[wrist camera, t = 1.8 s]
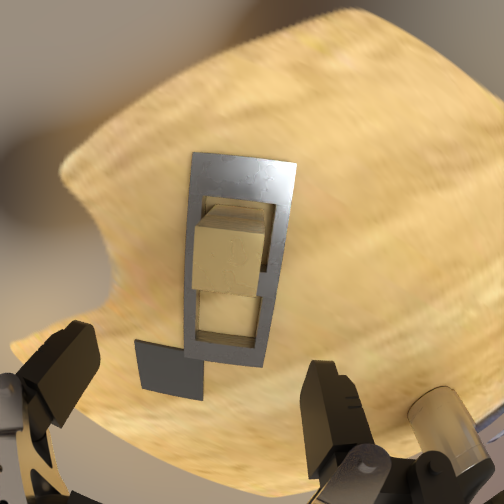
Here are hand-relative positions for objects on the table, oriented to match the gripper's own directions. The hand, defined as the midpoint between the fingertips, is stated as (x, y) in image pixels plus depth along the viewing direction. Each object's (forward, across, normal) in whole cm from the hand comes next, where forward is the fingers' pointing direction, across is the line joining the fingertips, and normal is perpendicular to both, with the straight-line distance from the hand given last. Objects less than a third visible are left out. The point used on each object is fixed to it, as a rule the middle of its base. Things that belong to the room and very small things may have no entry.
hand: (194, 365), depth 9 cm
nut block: (+19, 0, 0) cm, 19 cm away
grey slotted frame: (+19, 0, +4) cm, 19 cm away
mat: (+19, +7, +20) cm, 28 cm away
